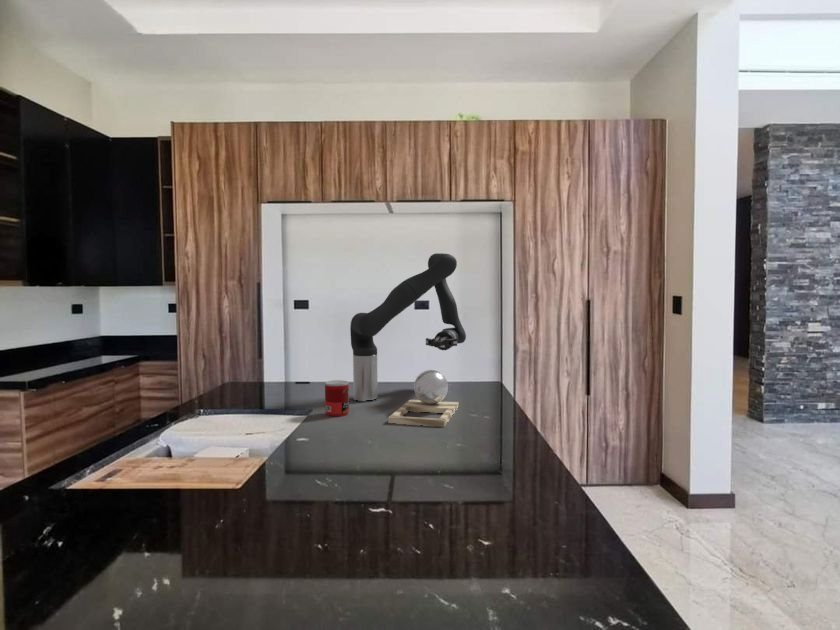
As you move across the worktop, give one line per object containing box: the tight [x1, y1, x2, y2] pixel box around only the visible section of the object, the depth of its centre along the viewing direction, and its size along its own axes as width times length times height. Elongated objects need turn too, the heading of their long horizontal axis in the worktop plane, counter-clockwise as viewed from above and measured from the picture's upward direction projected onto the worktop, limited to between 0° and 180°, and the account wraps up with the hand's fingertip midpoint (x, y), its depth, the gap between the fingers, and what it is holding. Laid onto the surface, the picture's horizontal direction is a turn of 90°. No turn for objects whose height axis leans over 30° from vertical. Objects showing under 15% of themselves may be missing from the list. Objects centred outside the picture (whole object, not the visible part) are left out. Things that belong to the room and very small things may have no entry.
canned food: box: [324, 379, 350, 418], centre depth 176 cm, size 8×8×11 cm
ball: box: [413, 369, 449, 404], centre depth 182 cm, size 12×12×12 cm
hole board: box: [387, 399, 460, 428], centre depth 174 cm, size 26×18×2 cm
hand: (436, 344), depth 189 cm, fingers closed
